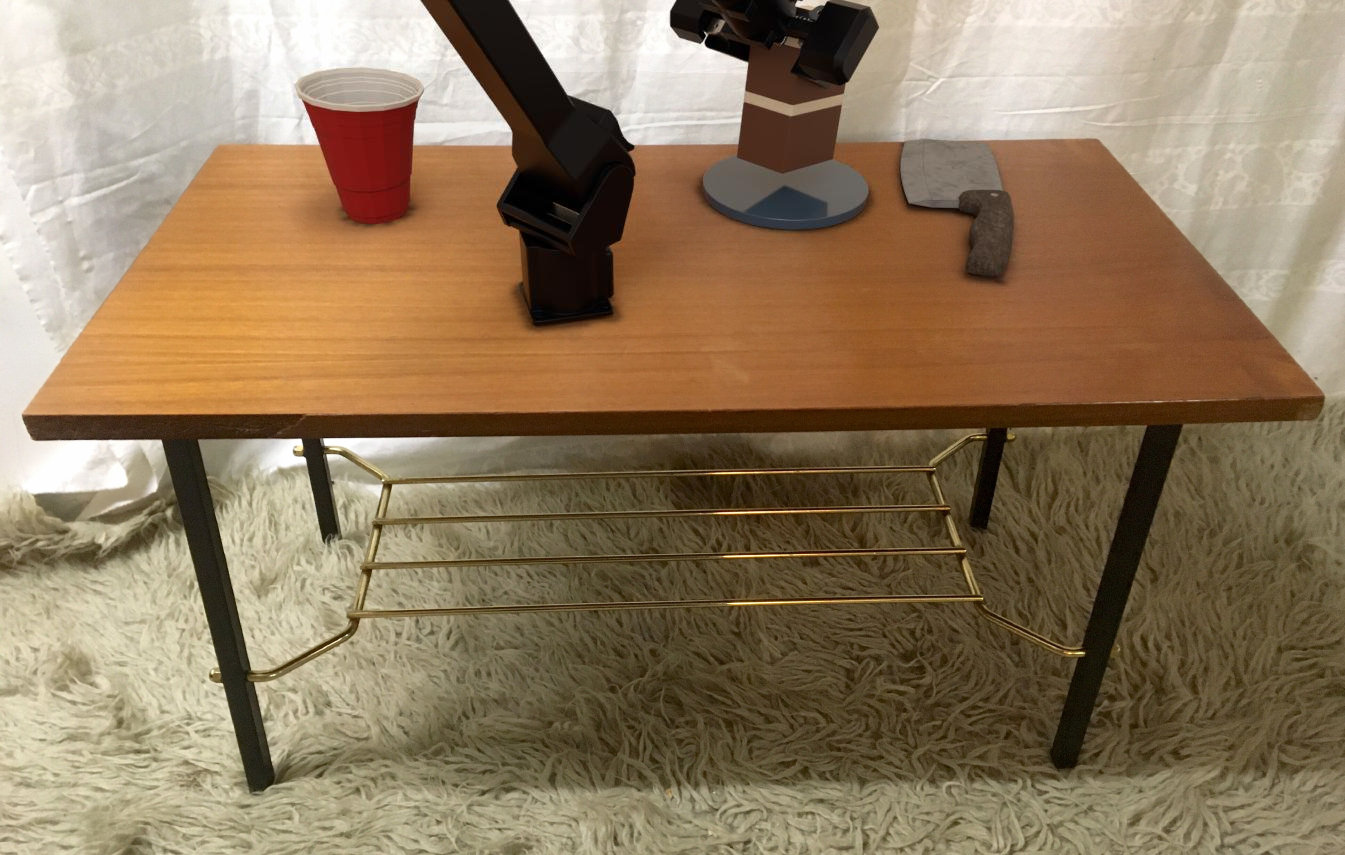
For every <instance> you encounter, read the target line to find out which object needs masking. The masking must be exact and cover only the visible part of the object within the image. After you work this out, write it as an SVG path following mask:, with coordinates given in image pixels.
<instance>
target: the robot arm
mask: <svg viewBox="0 0 1345 855" xmlns="http://www.w3.org/2000/svg"><path fill="white" fill-rule="evenodd" d="M419 1H420V2H421V3H422V6H423V7H425V9H426V10H427V12H428V14H429V15H430V16H431V18H432V19H433V21H434V22H435V24H436V25H437V26H438V27H439V29H440V31H441V32H442V33H443V35H444V36H445V37H446V39H447V40H448V42H449V43H450V45H451V46H452V47H453V49H454V50H455V52H456V53H457V54H458V56H459V58H460V59H461V60H462V62H463V63H464V65H465V66H466V67H467V68H468V70H469V71H470V73H471V74H472V76H473V77H474V79H475V80H476V82H477V83H478V84H479V86H480V87H481V88H482V90H483V91H484V92H485V94H486V95H487V97H488V98H489V100H490V102H492V104H493V105H494V107H495V108H496V110H497V111H498V113H499V114H500V115H501V117H502V118H503V119H504V121H505V122H506V124H507V125H508V127H509V128H510V131H511V133H512V134H511V157H512V158H513V161H514V163H515V165H516V169H515V171H514V172H513V174H512V176H511V177H510V180H509V181H508V183H507V185H506V186H505V188H504V190H503V192H502V194H501V195H500V197H499V199H498V201H497V202H496V205H495V206H496V210H497V212H498V214H499V216H500V218H501V221H502V223H503V224H504V226H506V227H509V228H511V227H512V228H513V229H516V230H517V231H518V237H519V250H520V261H521V262H520V263H521V276H522V277H521V278H522V281H520V282H519V283H518V289H519V293H520V295H521V298H522V300H523V304H524V306H525V308H526V311H527V313H528V316H529V319H530V322H531V324H532V325H533V326H535V327H542V326H549V325H556V324H564V323H571V322H577V321H583V320H584V321H585V320H591V319H599V318H605V317H610V316H613V314H614V307H613V305H612V303H611V301H610V299H612V298H613V296H614V295H615V288H614V287H615V286H614V284H615V282H614V252H613V250H612V248H611V246H613V245H615V244H617V243H619V242H621V241H622V239H623V233H624V230H625V226H626V223H627V222H626V221H627V218H628V214H629V209H630V205H631V201H632V197H633V194H634V188H635V177H636V175H637V171H636V165H635V161H634V159H633V156H632V155H631V154H630V152H632V151H634V150H635V146H636V145H635V144H634V143H631V142H630V141H629V140H627V138H626V137H625V136H624V134H623V132H622V129H621V127H620V124H619V121H618V119H617V118H616V116H615V115H614V113H613V112H612V110H610V109H608V108H605V107H603V106H600V105H597V104H595V103H592V102H589V101H586V100H585V99H584V100H583V99H581V98H578V97H576V96H572V95H570V94H568V93H567V92H566V89H564V87H563V85H562V83H561V82H560V81H559V79H558V77H557V75H556V74H555V72H554V70H553V69H552V68H551V66H550V64H549V63H548V61H547V59H546V57H545V56H544V54H543V53H542V51H541V49H540V48H539V46H538V44H537V43H536V41H535V40H534V38H533V37H532V35H531V34H530V32H529V30H528V29H527V27H526V25H525V23H524V21H523V20H522V19H521V17H520V16H519V13H518V12H517V10H516V9H515V8H514V6H513V5H512V3H511V1H510V0H419ZM798 1H799V2H803V1H804V0H675V2H674V3H673V5H672V6H671V8H670V9H669V27H670V28H671V29H672V31H673V32H674V33H675V35H676V36H677V37H678V38H679V39H682V40H684V41H687V42H692V43H695V44H699V45H702V43H704V46H705V48H707V49H709V50H712V51H715V52H717V53H720V54H723V55H726V56H728V57H731V58H734V59H735V60H736V59H737V60H739V61H742V62H744V63H747V64H748V61H749V52H750V45H751V46H755V47H758V48H762V49H765V50H770V49H771V47H772V45H773V44H775V45H779V46H783V45H784V44H785V42H786V41H787V38H788V37H792V38H795V39H799V40H798V44H799V46H800V47H801V48H800V55H799V57H798V59H797V61H796V62H795V64H794V66H793V68H792V69H791V71H790V72H791V73H792V74H794V75H796V76H798V77H801V78H803V79H805V80H807V81H810V82H812V83H814V84H816V85H819V86H821V87H823V88H826V89H828V88H829V86H830V85H831V84H835V85H838V86H841V85H843V84H845V83H846V84H847V83H849V82H850V81H851V79H852V77H853V75H854V74H855V71H856V70H857V68H858V66H859V64H860V63H861V61H862V59H863V57H864V55H865V54H866V52H867V50H868V48H869V47H870V45H871V43H872V42H873V40H874V38H875V36H876V34H877V32H878V31H879V29H880V25H879V22H878V20H877V18H876V15H875V14H874V12H873V9H872V8H871V6H870V5H869V6H868V5H865V4H861V3H857V2H853V1H849V0H827V1H826V2H825V3H824V5H823V4H820V5H817V6H814V7H815V8H814V9H813V10H808V9H804V8H800V7H799V6H797V5H796V4H797V3H798Z"/></svg>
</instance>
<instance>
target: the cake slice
mask: <svg viewBox="0 0 1345 855" xmlns="http://www.w3.org/2000/svg"><path fill="white" fill-rule="evenodd" d="M798 7H800V8H804V9H808V10H813V9H814V8H815V7H816V6H813V5H801V6H798ZM798 40H799V39H795V38H792V37H788V38H787V41H786V42H785V44H784V45H783V46H779V45H775V44H773V45H772V47H771V49H770V50H765V49H762V48H758V47H755V46H751V45H750V52H749V61H748V63H747V69H746V78H745V87H744V95H743V103H742V111H741V118H740V119H741V121H740V129H739V135H738V145H737V151H736V152H737V154H736V155H737V158H739V159H742V160H745V161H748V162H751V163H753V164H756V165H759V166H762V167H765V168H767V169H770V170H773V171H776V172H779V173H782V174H784V173H787V172H791V171H794V170H797V169H801V168H804V167H808V166H811V165H815V164H818V163H822V162H825V161H828V160H832V159H833V160H834V155H835V149H836V144H837V138H838V133H839V132H838V131H839V125H840V120H841V113H842V108H843V102H844V97H845V95H844V94H845V90H846V84H847V83H845V84H843V85H841V86H838V85H835V84H831V85H830V86H829V88H828V89H826V88H823V87H821V86H819V85H816V84H814V83H812V82H810V81H807V80H805V79H803V78H801V77H798V76H796V75H794V74H792V73H791V72H790V71H791V69H792V68H793V66H794V64H795V62H796V61H797V59H798V57H799V55H800V48H801V47H800V46H799V44H798Z"/></svg>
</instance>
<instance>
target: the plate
mask: <svg viewBox="0 0 1345 855" xmlns="http://www.w3.org/2000/svg"><path fill="white" fill-rule="evenodd" d="M869 190H870V188H869V184H868V182H867V180H866V179H865V178H864V176H863V175H862V174H861V173H860V172H859V171H857V170H856V169H854V168H852V167H851V166H850V165H848V164H845V163H844V162H841V161H838V160H836V159H834V158H833V159H832V160H828V161H825V162H822V163H818V164H815V165H811V166H808V167H804V168H801V169H797V170H794V171H791V172H787V173H784V174H782V173H779V172H776V171H773V170H770V169H767V168H765V167H762V166H759V165H756V164H753V163H751V162H748V161H745V160H742V159H739V158H737V154H734V155H731V156H728V157H725V158H723V159H720V160H719V161H717V162H715V163H714V164H712V165H711V166H710V167H708V169H707V170H706V171H705V173H704V174H703V177H702V195H703V197H704V200H705V201H706V202H707V203H708V204H709V205H710V206H711V207H712V208H713V209H714V210H715V211H717V212H718V213H720V214H722V215H724V216H726V217H728V218H731V219H732V220H736V221H738V222H740V223H743V224H747V225H750V226H751V225H752V226H757V227H760V228H761V227H762V228H768V229H777V230H789V231H790V230H791V231H798V230H799V231H800V230H801V231H802V230H813V229H816V230H817V229H822V228H828V227H833V226H836V225H840V224H843V223H845V222H847V221H850V220H852V219H854V218H855V217H857V216H859V214H861V212H863V211H864V209H865V207H866V206H867V204H868V199H869Z"/></svg>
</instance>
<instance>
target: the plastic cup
mask: <svg viewBox="0 0 1345 855" xmlns="http://www.w3.org/2000/svg"><path fill="white" fill-rule="evenodd" d="M293 87H294V90H295V91H296V94H297V97H298V99H300V100H301V102H302V103H303V105H304V108H305V111H306V112H307V115H308V118H309V121H310V124H311V127H312V129H313V130H314V133H315V136H316V138H317V141H318V144H319V147H320V150H321V154H322V156H323V158H324V161H325V164H326V167H327V170H328V173H329V175H330V178H331V181H332V184H333V185H334V186H335V189H336V192H337V195H338V197H339V200H340V203H341V206H342V208H343V211H344V212H345V214H346V216H347V218H348V219H351V220H352V221H353V222H358V223H362V224H382V223H389V222H391V221H394V220H397V219H399V218H401V217H403V216H405V214H407V212H408V210H409V203H410V201H411V176H412V174H413V173H412V172H413V155H414V154H413V153H414V135H415V121H416V119H417V118H416V117H417V110H418V108H419V101H420V99H421V97H422V95H423V94H424V91H425V86H424V84H423V83H422V82H421V80H420V79H418V78H416V77H413V76H412V75H410V74H407V73H404V72H399V71H395V70H390V69H387V68H386V69H385V68H375V67H373V68H372V67H337V68H331V69H325V70H318V71H314V72H311V73H309V74H306V75H303V76H300V78H299V79H298V80H297V81H296V82H295V83H294V84H293Z"/></svg>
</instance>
